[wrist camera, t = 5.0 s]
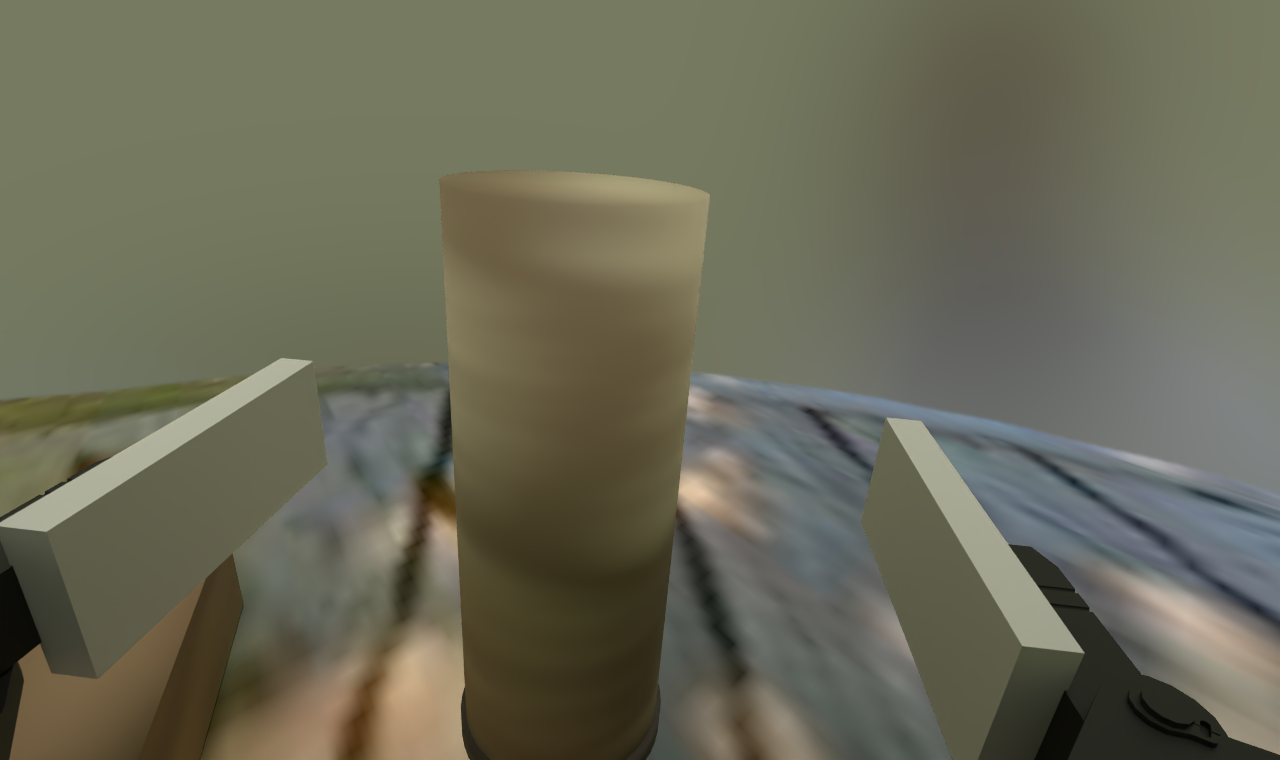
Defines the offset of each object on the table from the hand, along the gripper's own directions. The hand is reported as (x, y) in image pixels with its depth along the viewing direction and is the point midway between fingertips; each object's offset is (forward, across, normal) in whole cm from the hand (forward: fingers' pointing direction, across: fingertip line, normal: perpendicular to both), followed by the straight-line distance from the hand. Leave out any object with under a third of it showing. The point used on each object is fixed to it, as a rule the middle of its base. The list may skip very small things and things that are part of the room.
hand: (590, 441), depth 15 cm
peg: (-3, 0, -8) cm, 9 cm away
